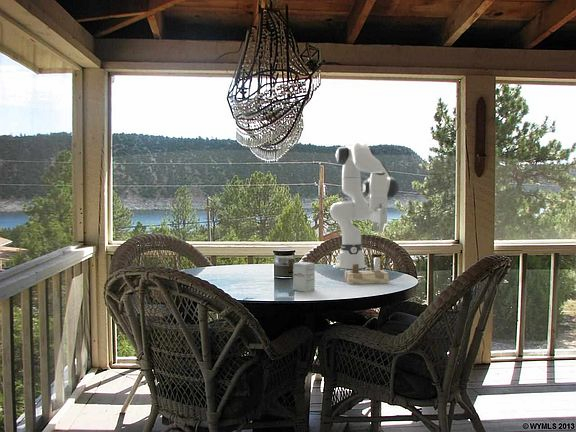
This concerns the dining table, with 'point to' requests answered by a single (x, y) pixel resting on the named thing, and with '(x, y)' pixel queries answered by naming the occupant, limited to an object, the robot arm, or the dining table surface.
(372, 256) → the condiment
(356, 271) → the walnut peg
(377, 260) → the steel peg
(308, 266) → the supplement box
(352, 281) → the hole block
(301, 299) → the dining table surface
